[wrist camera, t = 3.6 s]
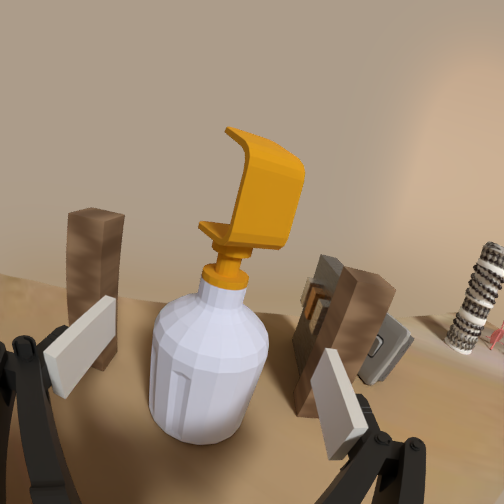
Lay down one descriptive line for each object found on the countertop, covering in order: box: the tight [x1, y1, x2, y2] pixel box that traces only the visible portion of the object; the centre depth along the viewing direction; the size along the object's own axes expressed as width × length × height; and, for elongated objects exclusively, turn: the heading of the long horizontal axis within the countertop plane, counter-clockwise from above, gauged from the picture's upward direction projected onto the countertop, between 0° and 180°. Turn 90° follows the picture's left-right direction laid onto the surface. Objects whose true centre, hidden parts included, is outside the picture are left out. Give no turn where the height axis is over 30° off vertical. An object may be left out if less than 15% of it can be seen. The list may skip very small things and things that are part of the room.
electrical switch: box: [358, 313, 414, 386], centre depth 36 cm, size 9×5×9 cm, turn 12°
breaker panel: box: [292, 254, 344, 377], centre depth 34 cm, size 4×12×14 cm, turn 179°
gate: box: [66, 208, 396, 418], centre depth 25 cm, size 29×4×16 cm, turn 89°
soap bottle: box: [149, 127, 305, 445], centre depth 20 cm, size 9×9×25 cm
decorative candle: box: [444, 242, 504, 355], centre depth 45 cm, size 9×9×25 cm
